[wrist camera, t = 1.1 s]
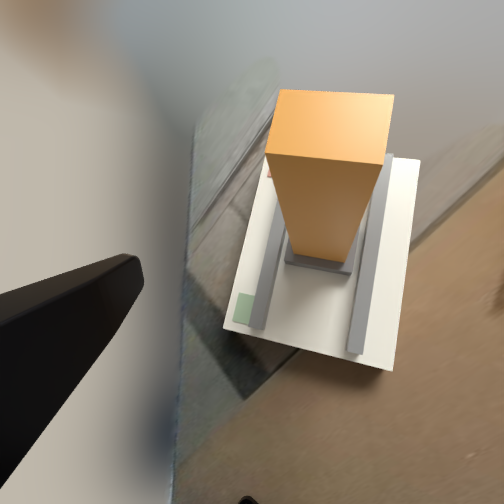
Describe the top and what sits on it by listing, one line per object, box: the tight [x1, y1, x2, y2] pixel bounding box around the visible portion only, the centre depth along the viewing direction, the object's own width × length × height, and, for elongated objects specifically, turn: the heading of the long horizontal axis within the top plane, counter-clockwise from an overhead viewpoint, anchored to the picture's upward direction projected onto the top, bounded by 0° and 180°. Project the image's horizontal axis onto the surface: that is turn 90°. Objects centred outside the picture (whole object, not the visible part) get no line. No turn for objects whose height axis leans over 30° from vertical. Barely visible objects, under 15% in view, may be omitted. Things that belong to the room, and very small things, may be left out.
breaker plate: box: [223, 153, 420, 371], centre depth 20 cm, size 13×10×3 cm
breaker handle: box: [265, 89, 394, 276], centre depth 14 cm, size 3×4×12 cm
